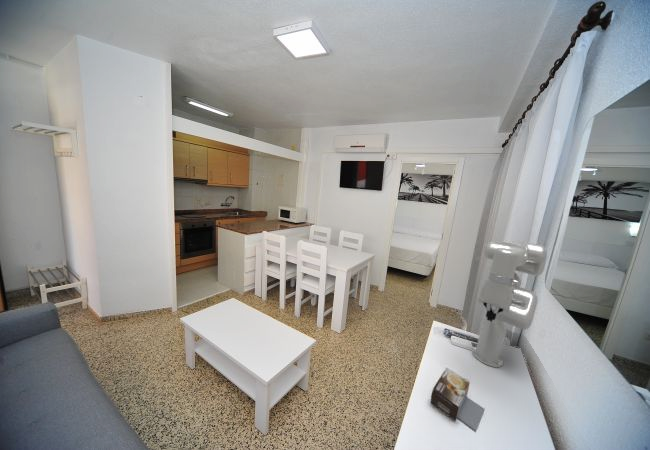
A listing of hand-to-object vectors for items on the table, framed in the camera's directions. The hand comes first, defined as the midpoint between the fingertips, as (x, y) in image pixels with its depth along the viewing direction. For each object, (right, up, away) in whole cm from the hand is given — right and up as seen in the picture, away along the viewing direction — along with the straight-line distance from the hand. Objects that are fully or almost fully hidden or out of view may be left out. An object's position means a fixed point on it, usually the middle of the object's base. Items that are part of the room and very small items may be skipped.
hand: (490, 319), depth 93 cm
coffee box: (-14, -25, -1) cm, 28 cm away
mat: (-17, -30, -8) cm, 35 cm away
